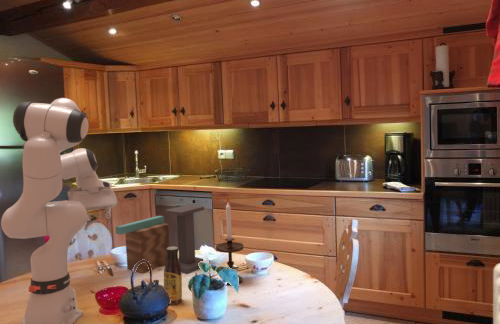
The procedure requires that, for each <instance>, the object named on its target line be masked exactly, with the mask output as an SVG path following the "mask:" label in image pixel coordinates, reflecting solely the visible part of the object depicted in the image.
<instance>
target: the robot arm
mask: <svg viewBox="0 0 500 324" xmlns="http://www.w3.org/2000/svg"><path fill="white" fill-rule="evenodd" d="M12 124H13V127H14V130H15V131H16V133H17V134H18V135H19V137H20V139H21V140H22V141H24V142H25V143H24V146H23V153H22V176H23V189H22V193H21V195H20V197H19V199H18V200H17V201H16V202H15V203H14V204H13V205H12V206H10V207H9V208H7V209H6V210H5V211H4V213H3V214H2V216H1V219H0V220H1V221H0V224H1V230H2V232H3V233H4V235H5V236H7V237H8V238H10V239H21V240H22V239H23V240H26V239H32V238H40V237H45V236H50V239H49V240H48V242H47V243H44V244H43V245H41V246H39V247H38V248H37V249H35V250H34V251H33V252H32V254H31V255H30V270H31V278H30V283H29V286H28V292H29V293H28V295H29V296H28V299H27V304H26V307H25V313H24V315H23V317H22V320H21V323H20V324H74V323H75V322H76V321H77V320H78V319H79V318H80V317H81V316H82V315H83V314H84V313H83V310H82V309H79V308H78V302H77V295H76V290H75V289H74V288H73V287H72V286H71V284H70V283H71V275H70V273H69V271H68V270H69V269H68V253H69V252H68V250H69V246H70V244H71V242H72V241H73V238H74V236H76V234H77V233H78V232H79V231H81V230H82V229H84V228H83V227H84V226H85V225H86V223H87V222H89V221H91V220H92V216H91V215H89V214H88V213H87V211H94V210H95V211H96V210H105V211H106V212H105V214H104V216H105V219H111V218H112V214H111V212H112V211H111V210H112V208H114V207H116V206H117V204H118V199H117V196H116V194H115V193H116V192H115V191H114V189H112V184H111V182H108V181H105V180H102V179H100V178H99V176H98V174H97V173H96V171H97V169H98V167H99V165H98V162H97V158H96V154H95V152H94V151H92V150H90V149H88V148H82V147H80V148H76V149H74V150H73V151H71V152H68V153H64V154H61V153H62V152H64V151H66V150H68V149H70V148H73V147H76V146H77V145H79V144H80V143H81V142H83V141H84V139H86V137H87V134H88V131H89V127H90V125H89V118H88V116H87V115H86V113H85V112H83V111H81V109H80V108H79V106H78V104H76V102H75V101H74V100H72V99H70V98H66V97H60V98H56V99H54V100H53V101H51V103H41V102H34V101H23V102H20V103H19V104H18V105H17V106H16V107H15V109H14V112H13V115H12ZM74 178H75V184H76V187H75V188H70V189H69V190H67V196H68V200H66V199H65V200H57V201H55V200H54V199H56V198H57V197H58V196H59V195H60V193H61V192H62V190H63V182H65V181H66V180H69V179H74ZM53 200H54V201H53Z"/></svg>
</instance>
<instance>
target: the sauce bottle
mask: <svg viewBox="0 0 500 324" xmlns="http://www.w3.org/2000/svg"><path fill="white" fill-rule="evenodd" d="M178 259H179V248H178V246H173V245H172V246H169V247H168V248H167V262H166V266H165V265H164V269H163V270H164V271H163V289H164V288H165V290H166V291H167V293H168V294H169V296H170V299H171V303H170V304H169V305H177V304H179V303H181V302H182V299H183V282H182V279H183V278H182V276H183V275H182V274H183V273H182V272H181V264H180V263H179V261H178Z"/></svg>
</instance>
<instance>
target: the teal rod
mask: <svg viewBox="0 0 500 324" xmlns="http://www.w3.org/2000/svg"><path fill="white" fill-rule="evenodd" d="M162 223H164V224H165V216H164V215H157V216H152V217H149V218H145V219H141V220H138V221H133V222H129V223H124V224H121V225H117V226H115V234H116V235H120V236H121V235H124V234H125V233H129V232H132V231H136V230H140V229H143V228H147V227H151V226H154V225H158V224H162Z"/></svg>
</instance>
